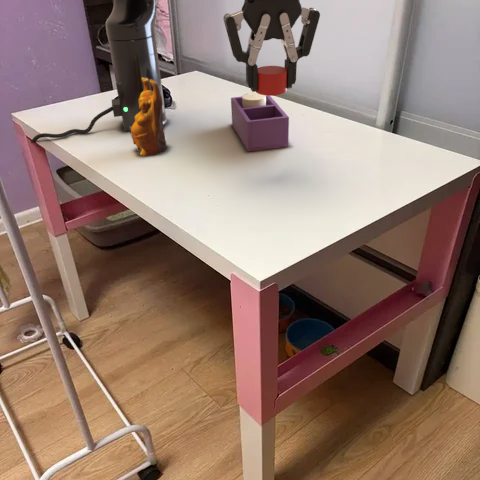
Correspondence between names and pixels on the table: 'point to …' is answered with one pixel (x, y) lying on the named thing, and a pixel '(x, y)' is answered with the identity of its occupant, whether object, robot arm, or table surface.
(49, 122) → the table surface
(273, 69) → the cylinder
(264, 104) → the cream token high
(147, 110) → the figurine
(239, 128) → the purple divided box
